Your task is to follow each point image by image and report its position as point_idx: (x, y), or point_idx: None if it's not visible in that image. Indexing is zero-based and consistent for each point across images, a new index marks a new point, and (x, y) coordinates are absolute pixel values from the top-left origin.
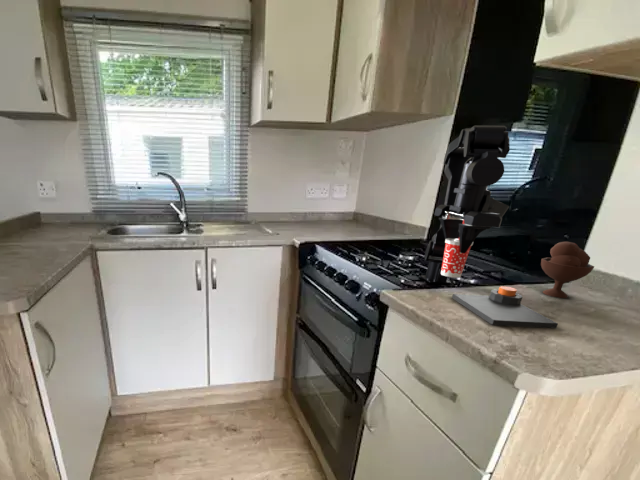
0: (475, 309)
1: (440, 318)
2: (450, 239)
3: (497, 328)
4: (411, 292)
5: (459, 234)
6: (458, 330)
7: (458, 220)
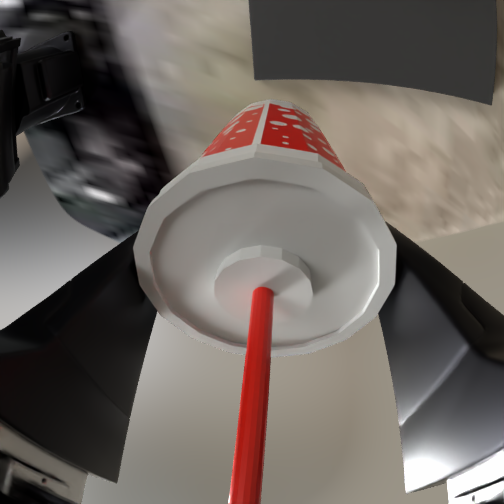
0: (414, 88)
1: (437, 213)
2: (200, 315)
3: (497, 104)
4: None
5: (401, 403)
6: (490, 208)
7: (32, 433)
